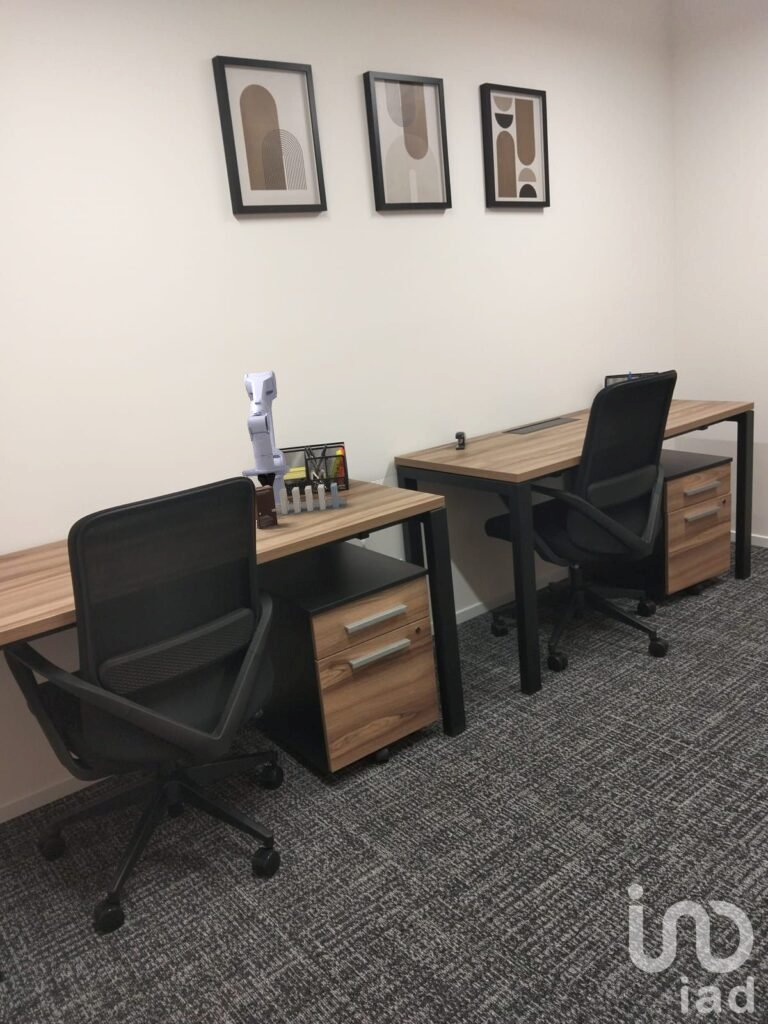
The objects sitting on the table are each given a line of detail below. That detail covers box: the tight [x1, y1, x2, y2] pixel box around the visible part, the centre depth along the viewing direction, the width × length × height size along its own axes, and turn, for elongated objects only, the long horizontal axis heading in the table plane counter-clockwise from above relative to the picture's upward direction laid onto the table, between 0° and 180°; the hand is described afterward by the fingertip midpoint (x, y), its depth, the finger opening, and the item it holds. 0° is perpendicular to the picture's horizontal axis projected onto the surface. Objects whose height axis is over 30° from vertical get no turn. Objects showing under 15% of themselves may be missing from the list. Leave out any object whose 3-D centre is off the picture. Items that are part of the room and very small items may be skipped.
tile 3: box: [304, 485, 314, 511], centre depth 230 cm, size 2×5×7 cm, turn 1°
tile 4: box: [317, 483, 327, 510], centre depth 230 cm, size 2×5×7 cm, turn 1°
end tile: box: [329, 482, 339, 508], centre depth 230 cm, size 2×5×7 cm, turn 0°
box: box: [255, 485, 279, 530], centre depth 215 cm, size 6×4×12 cm
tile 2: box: [291, 486, 302, 513], centre depth 230 cm, size 2×5×7 cm, turn 1°
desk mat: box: [276, 497, 348, 517], centre depth 234 cm, size 22×15×1 cm
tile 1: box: [279, 487, 289, 514], centre depth 230 cm, size 2×5×7 cm, turn 1°
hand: (270, 497), depth 230 cm, fingers closed
